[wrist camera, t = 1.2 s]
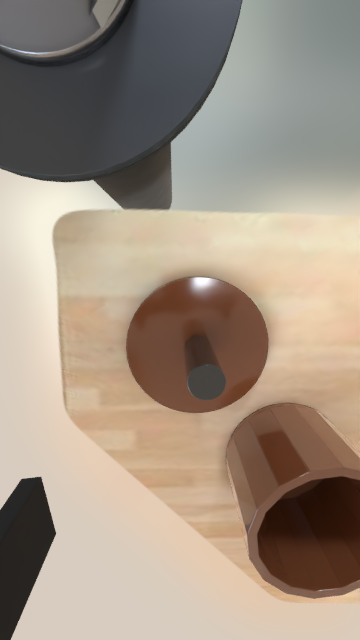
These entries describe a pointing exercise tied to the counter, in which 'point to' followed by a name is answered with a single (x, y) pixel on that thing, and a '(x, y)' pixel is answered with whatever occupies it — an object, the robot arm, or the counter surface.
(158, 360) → the crock lid
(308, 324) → the counter surface
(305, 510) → the crock
